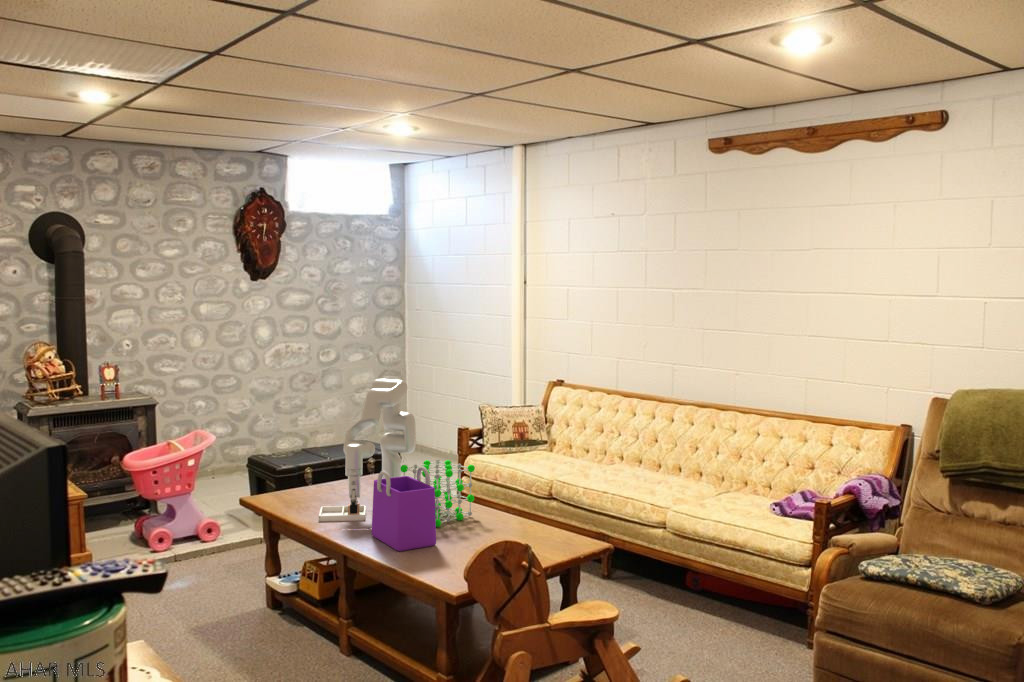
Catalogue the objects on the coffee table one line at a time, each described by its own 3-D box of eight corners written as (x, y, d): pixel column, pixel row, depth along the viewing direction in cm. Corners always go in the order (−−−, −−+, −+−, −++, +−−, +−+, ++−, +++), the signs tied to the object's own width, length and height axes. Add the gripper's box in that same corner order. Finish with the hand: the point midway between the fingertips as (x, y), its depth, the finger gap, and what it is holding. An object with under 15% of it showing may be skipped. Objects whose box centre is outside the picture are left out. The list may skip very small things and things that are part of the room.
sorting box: (365, 511, 396) (365, 505, 396) (365, 521, 381) (365, 514, 380) (321, 512, 393) (321, 506, 393) (318, 522, 378) (318, 515, 377)
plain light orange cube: (359, 513, 391) (359, 503, 390) (359, 516, 386) (359, 505, 385) (348, 514, 390) (348, 503, 390) (347, 517, 385) (347, 506, 385)
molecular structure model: (475, 517, 391) (476, 464, 390) (437, 528, 372) (437, 473, 370) (437, 507, 407) (438, 456, 405) (398, 518, 387) (398, 464, 386)
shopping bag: (361, 538, 356) (361, 466, 354) (403, 528, 371) (403, 459, 369) (403, 554, 336) (404, 478, 334) (446, 543, 351) (447, 470, 349)
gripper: (362, 475, 378) (361, 516, 380) (362, 467, 395) (362, 506, 397) (344, 476, 377) (344, 516, 379) (346, 467, 394) (346, 506, 395)
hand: (353, 511), depth 388 cm, fingers open, 5 cm apart
